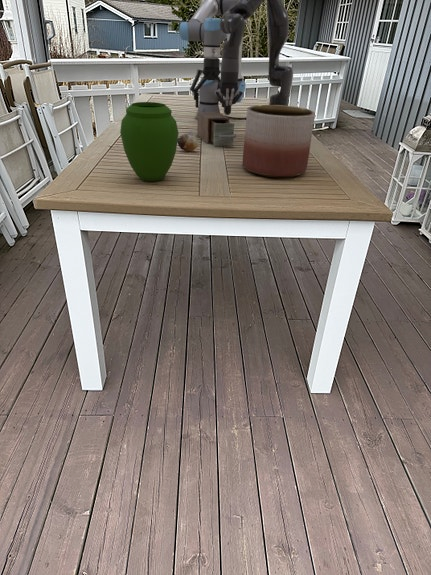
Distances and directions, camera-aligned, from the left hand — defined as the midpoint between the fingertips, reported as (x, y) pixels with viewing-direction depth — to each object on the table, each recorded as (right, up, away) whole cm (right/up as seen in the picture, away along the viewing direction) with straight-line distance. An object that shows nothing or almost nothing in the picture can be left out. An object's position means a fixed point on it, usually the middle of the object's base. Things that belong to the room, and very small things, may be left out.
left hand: (210, 107), depth 201 cm
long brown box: (+1, -14, +3) cm, 15 cm away
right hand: (+8, -12, -20) cm, 25 cm away
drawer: (+5, -20, -6) cm, 21 cm away
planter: (+26, -42, -38) cm, 62 cm away
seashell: (-10, -28, -19) cm, 36 cm away
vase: (-20, -50, -54) cm, 76 cm away
